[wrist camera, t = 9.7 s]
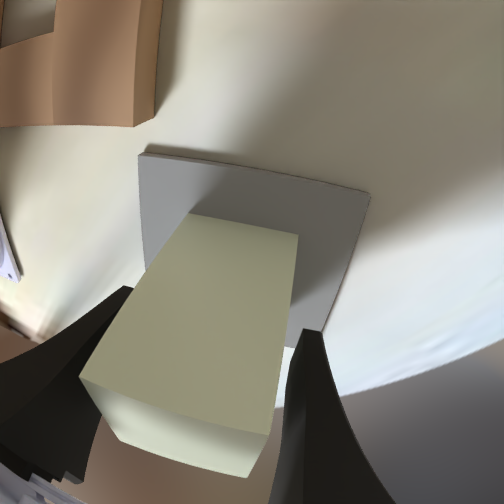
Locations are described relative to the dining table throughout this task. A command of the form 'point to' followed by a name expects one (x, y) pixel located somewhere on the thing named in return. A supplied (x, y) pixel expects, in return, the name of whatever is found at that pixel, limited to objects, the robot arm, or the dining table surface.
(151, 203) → the rubber pad
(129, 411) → the sage block
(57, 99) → the pocket block
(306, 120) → the dining table surface
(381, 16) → the dining table surface
